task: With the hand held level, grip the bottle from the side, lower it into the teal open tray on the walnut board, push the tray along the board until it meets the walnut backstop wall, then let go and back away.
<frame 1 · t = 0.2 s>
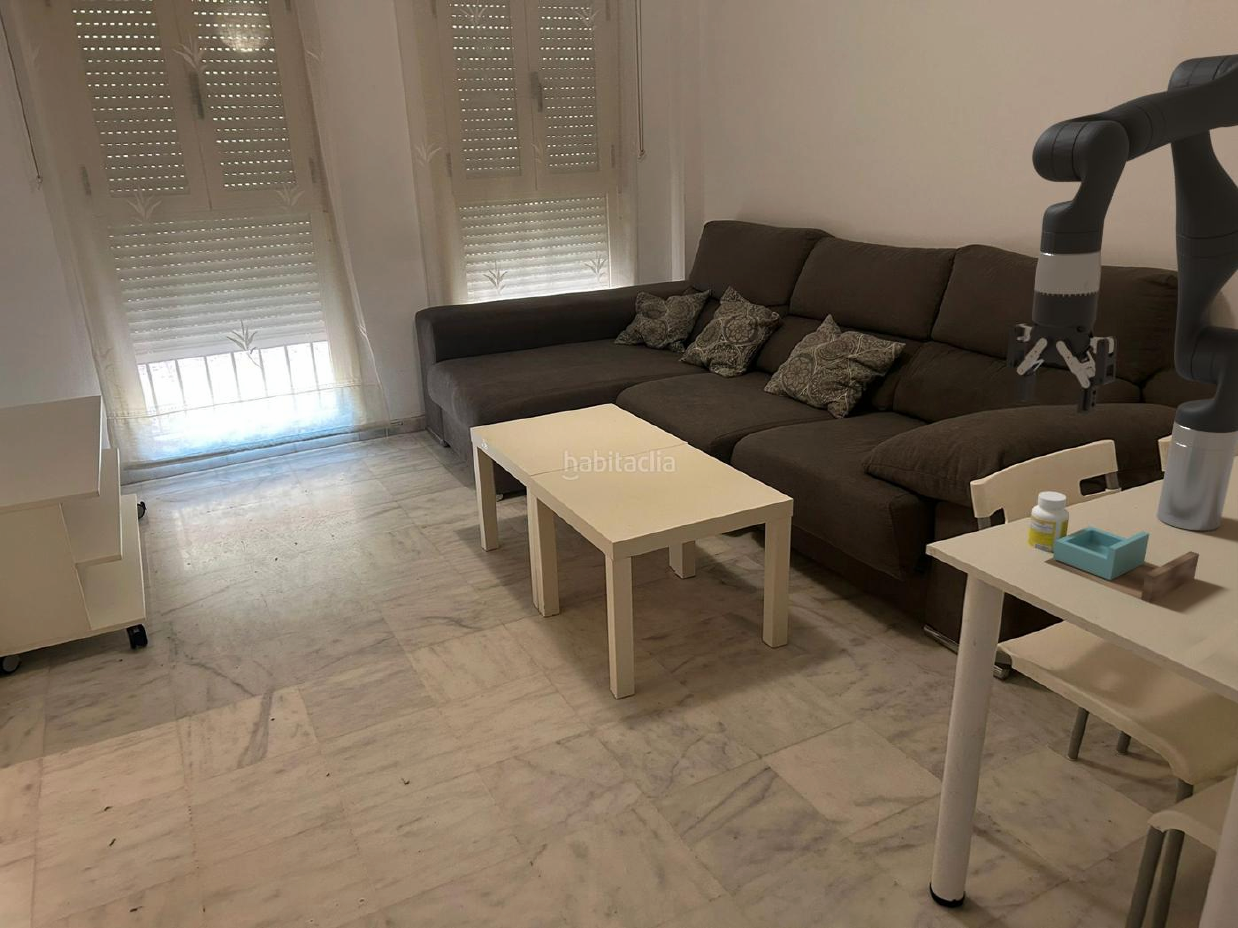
hand: (1054, 406, 121), 29 cm above the table, tool pointing down, fingers open, 8 cm apart
walnut board: (1115, 578, 134), on the table
supplement bottle: (1044, 553, 144), on the table
teal open tray: (1100, 546, 135), point 4 cm above the table, slide at 0.0 cm
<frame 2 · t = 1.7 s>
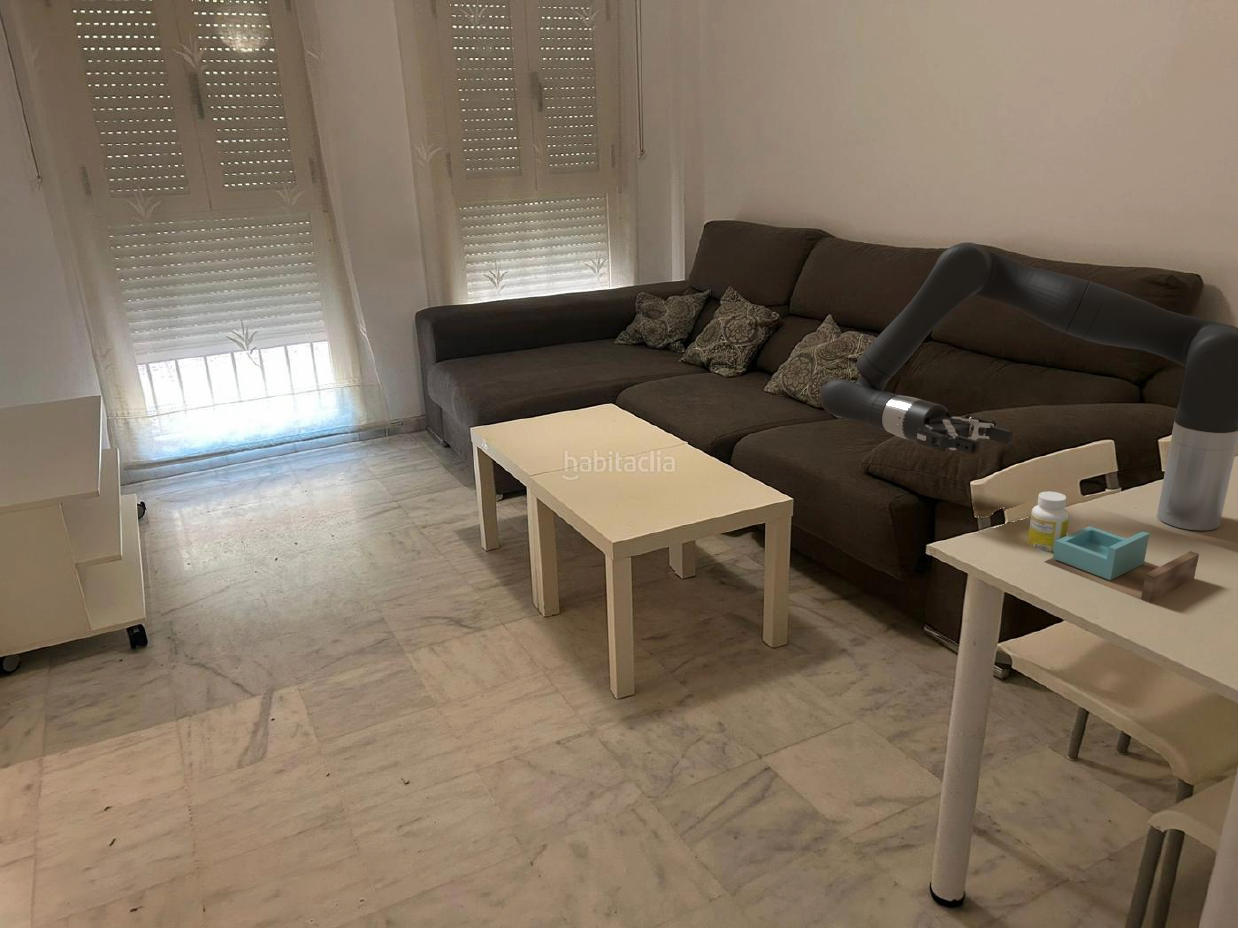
hand: (994, 443, 147), 16 cm above the table, tool horizontal, fingers open, 8 cm apart
nothing on the table moved.
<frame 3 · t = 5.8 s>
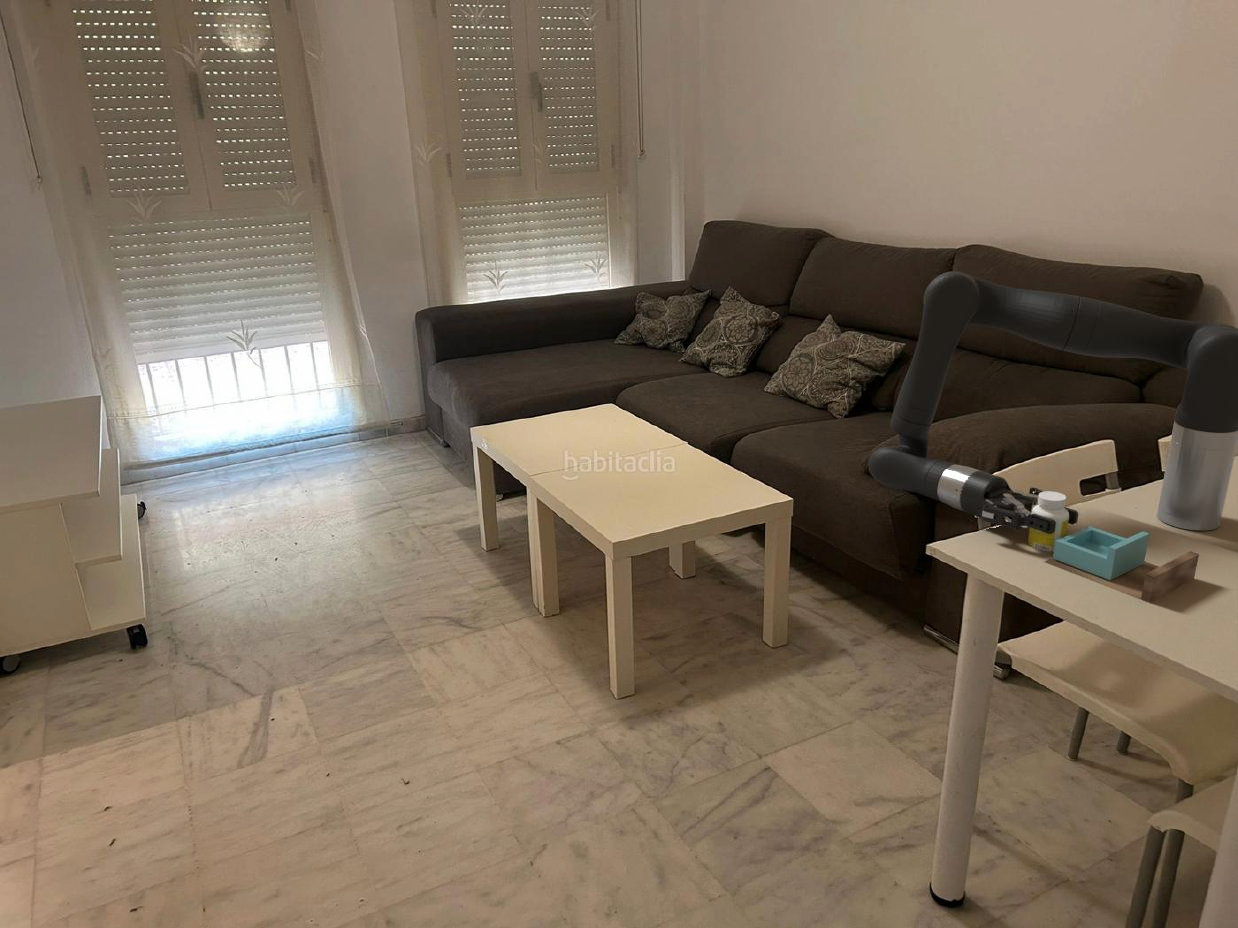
hand: (1064, 522, 139), 6 cm above the table, tool horizontal, fingers closed on supplement bottle, 5 cm apart
supplement bottle: (1044, 553, 144), on the table, touching gripper
everything else where it was.
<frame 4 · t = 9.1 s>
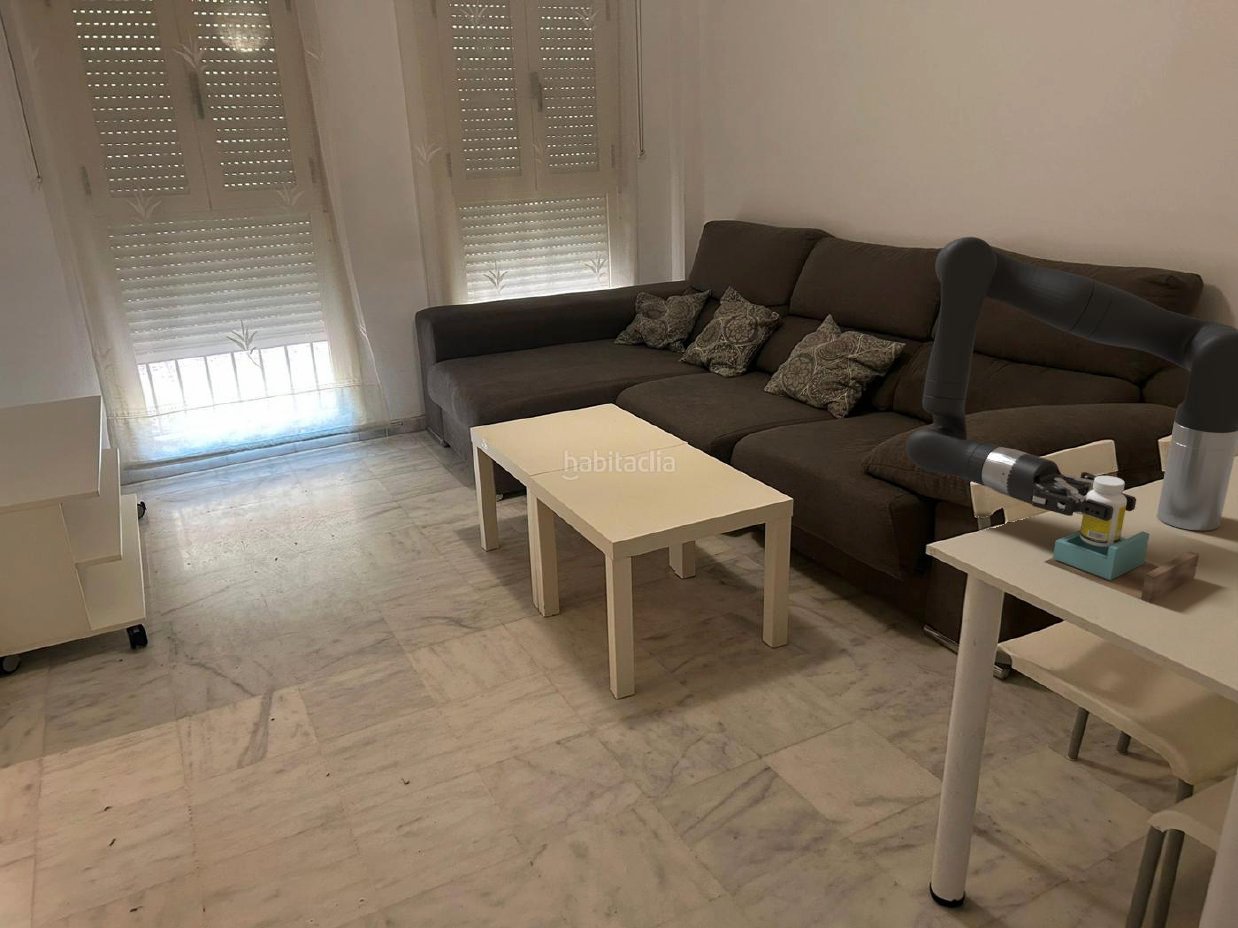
hand: (1122, 509, 131), 11 cm above the table, tool horizontal, fingers closed on supplement bottle, 5 cm apart
supplement bottle: (1098, 541, 135), point 5 cm above the table, touching gripper
everything else where it was.
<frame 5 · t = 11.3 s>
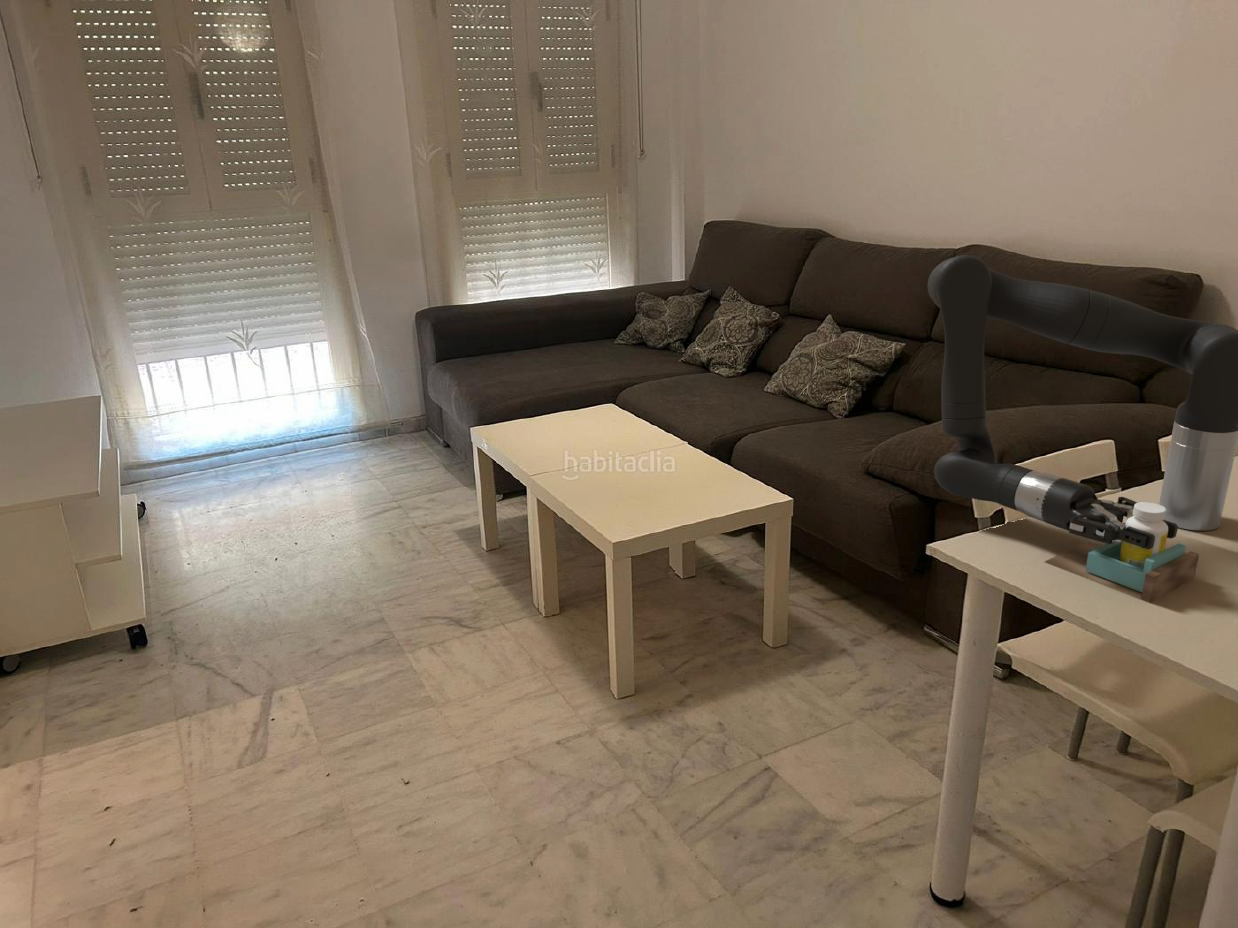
hand: (1164, 537, 127), 9 cm above the table, tool horizontal, fingers closed on supplement bottle, 5 cm apart
supplement bottle: (1138, 569, 131), point 3 cm above the table, touching teal open tray, gripper
teal open tray: (1135, 558, 131), point 4 cm above the table, slide at 5.2 cm, touching supplement bottle
when the fingers open (9 cm above the table, at t = 12.4 s): supplement bottle stays where it is, resting on teal open tray.
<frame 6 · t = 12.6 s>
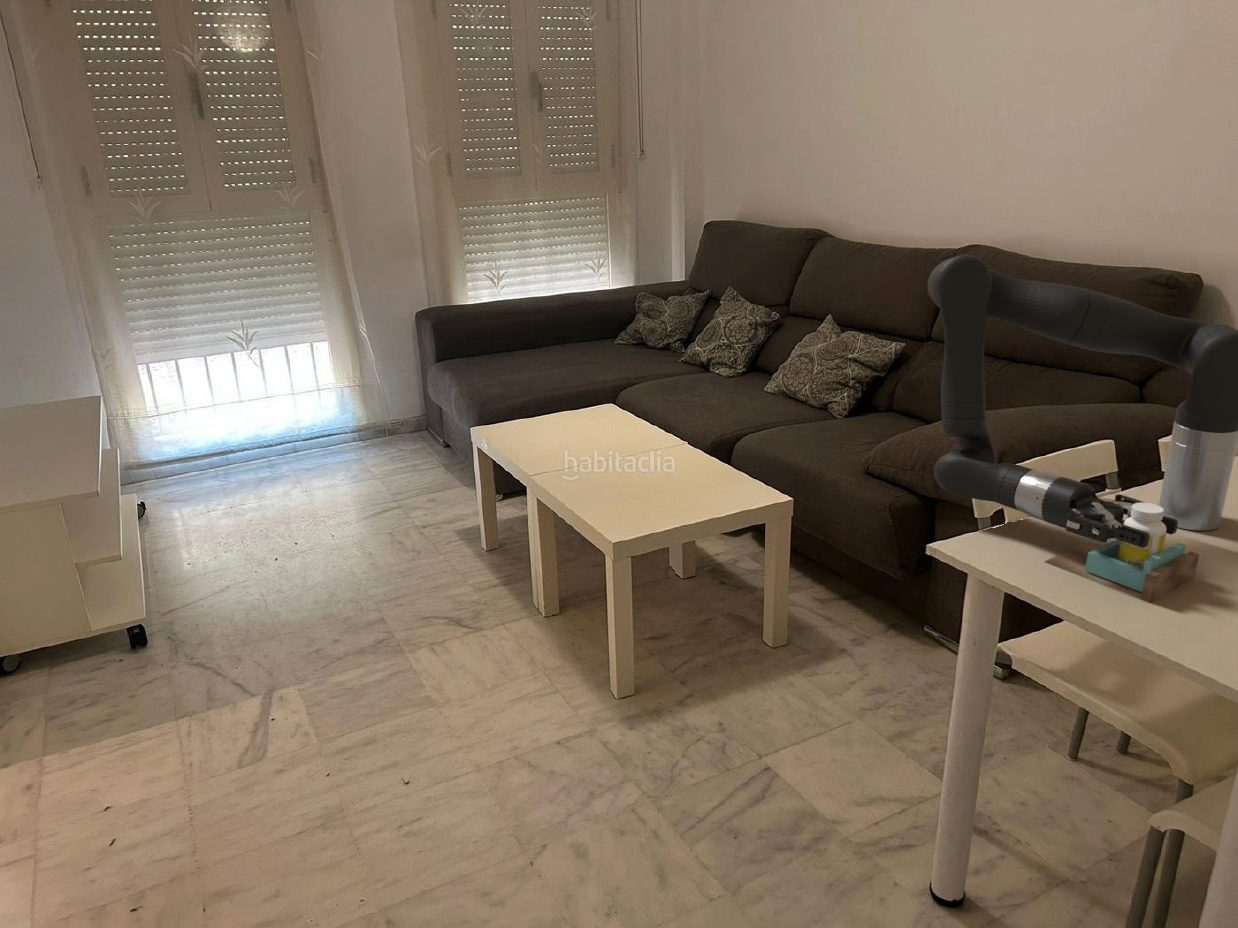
hand: (1161, 534, 127), 9 cm above the table, tool horizontal, fingers open, 7 cm apart
supplement bottle: (1137, 570, 131), point 3 cm above the table, touching teal open tray
everything else where it was.
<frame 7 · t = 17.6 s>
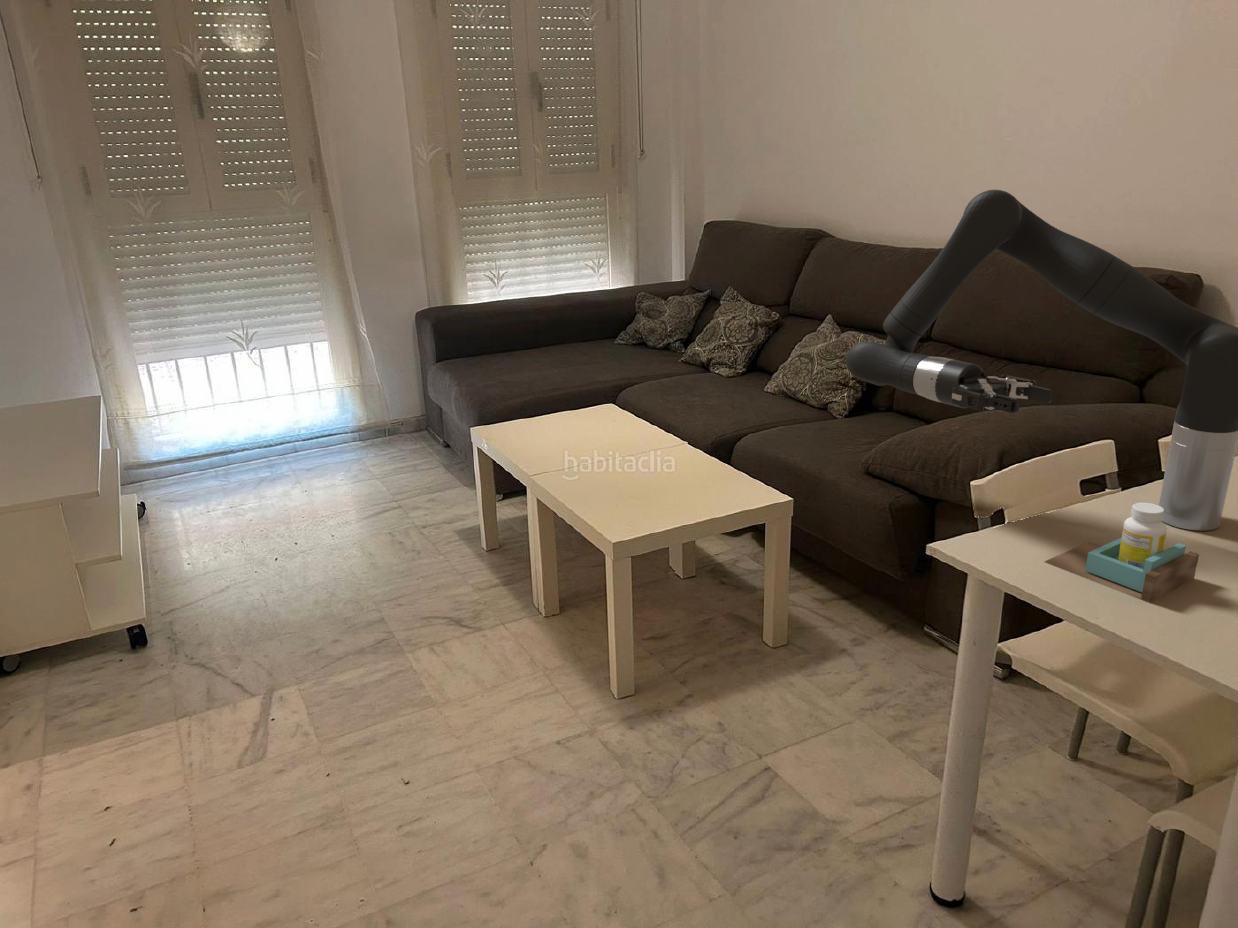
hand: (1034, 401, 139), 24 cm above the table, tool horizontal, fingers open, 8 cm apart
nothing on the table moved.
at the end: teal open tray slide at 5.2 cm; supplement bottle 0.5 cm from the target spot on the walnut board, point 2.6 cm above the walnut board's base; supplement bottle tilted 0° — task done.
